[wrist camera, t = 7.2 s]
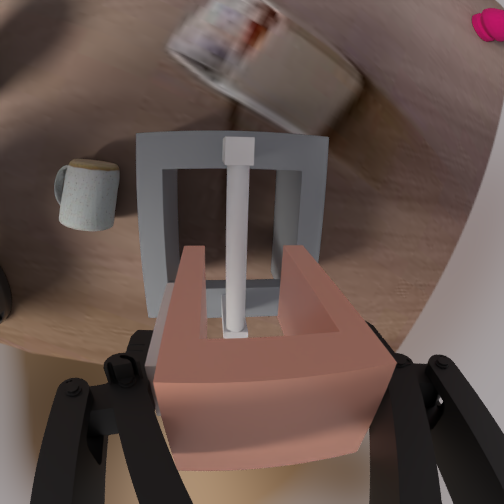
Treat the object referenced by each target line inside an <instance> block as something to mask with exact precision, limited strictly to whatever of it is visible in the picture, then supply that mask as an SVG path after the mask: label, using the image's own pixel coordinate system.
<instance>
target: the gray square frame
mask: <svg viewBox="0 0 504 504" xmlns="http://www.w3.org/2000/svg"><path fill="white" fill-rule="evenodd" d="M328 144H329V137H323V136H313V135H302V134H289V133H274V132H254V131H168V132H148V133H136V183H137V207H138V224H139V238H140V250H141V260H142V270H143V279H144V287H145V295H146V303H147V310H148V317H149V318H157V316H158V313H159V309H160V306H161V302H162V299H163V295H164V292H165V288H166V285H167V283H175V279H176V275H177V272H178V268H179V264H180V254H179V231H178V189H177V169H203V168H226V169H227V203H226V280H206V307H207V318H219V317H222V324H223V338H224V339H229V338H248V329H247V324H246V319H245V317H255V316H278V306H279V294H280V282H281V269H282V256H283V245H303V246H304V247H305V249H306V250H307V251H308V252H309V253H310V254H311V256H312V257H313V258H314V259H315V260H316V262H317V263H318V260H319V252H320V243H321V233H322V223H323V213H324V201H325V189H326V176H327V161H328ZM250 169H271V170H276V191H275V210H274V228H273V246H272V262H271V273H272V275H273V278H274V279H257V280H246V264H247V232H248V200H249V170H250Z"/></svg>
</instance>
